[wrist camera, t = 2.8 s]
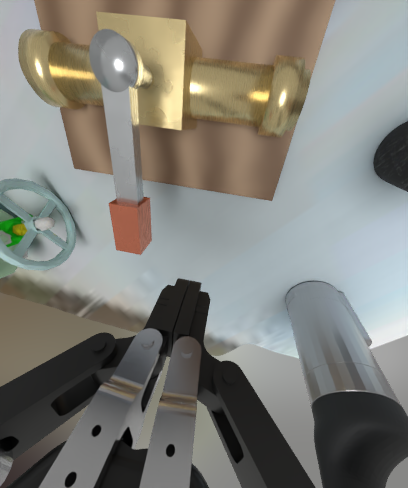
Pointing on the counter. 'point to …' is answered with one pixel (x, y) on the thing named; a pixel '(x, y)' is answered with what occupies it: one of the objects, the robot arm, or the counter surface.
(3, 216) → the valve
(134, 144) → the valve lever
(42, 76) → the brass valve
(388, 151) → the travel mug
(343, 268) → the counter surface
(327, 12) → the mounting board
